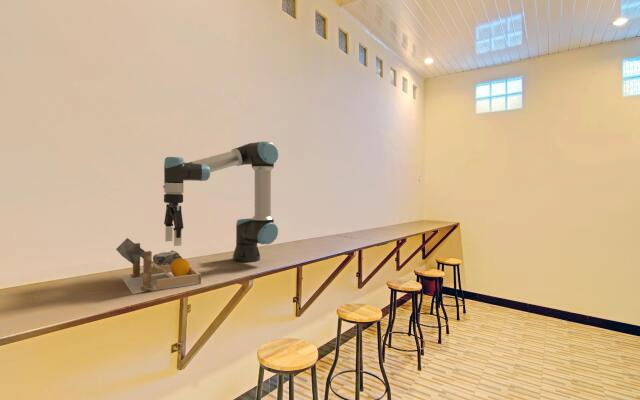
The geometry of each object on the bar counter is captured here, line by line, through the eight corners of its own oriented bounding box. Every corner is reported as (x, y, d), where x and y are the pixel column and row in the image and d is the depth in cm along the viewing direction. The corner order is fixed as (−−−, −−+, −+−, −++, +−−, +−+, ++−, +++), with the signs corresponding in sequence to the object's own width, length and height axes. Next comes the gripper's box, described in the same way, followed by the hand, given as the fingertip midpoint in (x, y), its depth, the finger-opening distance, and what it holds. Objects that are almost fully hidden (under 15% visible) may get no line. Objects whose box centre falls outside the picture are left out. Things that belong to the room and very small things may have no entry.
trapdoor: (159, 280, 149) (169, 269, 151) (170, 291, 134) (181, 278, 136) (115, 248, 138) (126, 237, 140) (122, 256, 123) (135, 243, 126)
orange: (172, 264, 139) (190, 258, 143) (167, 259, 145) (184, 253, 149) (176, 281, 141) (194, 275, 145) (170, 276, 147) (188, 270, 151)
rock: (152, 273, 152) (157, 251, 153) (144, 269, 157) (148, 248, 158) (184, 273, 164) (188, 252, 165) (175, 269, 170) (179, 250, 171)
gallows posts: (140, 276, 147) (140, 242, 147) (154, 291, 127) (154, 252, 127) (130, 277, 145) (130, 243, 144) (142, 293, 125) (142, 253, 124)
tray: (183, 271, 158) (183, 263, 158) (200, 283, 139) (201, 274, 139) (122, 279, 142) (122, 270, 142) (132, 293, 123) (132, 283, 123)
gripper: (157, 192, 150) (156, 240, 150) (172, 194, 130) (171, 248, 131) (174, 193, 154) (174, 238, 155) (192, 194, 135) (191, 246, 135)
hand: (173, 243), depth 143 cm, fingers open, 13 cm apart
